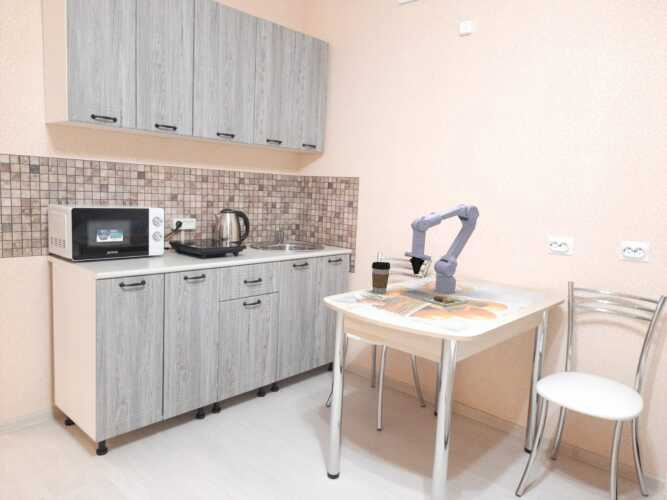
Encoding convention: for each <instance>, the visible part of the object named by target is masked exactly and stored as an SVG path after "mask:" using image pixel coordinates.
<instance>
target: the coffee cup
mask: <svg viewBox="0 0 667 500" xmlns="http://www.w3.org/2000/svg"><path fill="white" fill-rule="evenodd" d="M371 269H372V270H371V271H372V272H371V277H372V281H371V284H372V285H371V287H372V293H374V294H378V295H380V294H381V295H382V294H383V295H384V294H387V293H386V292H387V289H388V288H387V287H388V282H389V277H390V273H389V272H390V270H391V263H390V262H388V261H373V262H372V264H371Z"/></svg>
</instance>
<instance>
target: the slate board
mask: <svg viewBox="0 0 667 500" xmlns="http://www.w3.org/2000/svg"><path fill="white" fill-rule="evenodd" d="M397 294H398V295H401V296H405V297H408V298H411V299H415V300H417V301H418V300H419V301H421V302H424V301H423V298H425V299H428V300H432V301H433V300H434V297H435V296H437V295H436V294H434V293H429V292H425V291H421V290H414V291H406V292H400V293H397Z"/></svg>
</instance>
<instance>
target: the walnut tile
mask: <svg viewBox="0 0 667 500" xmlns="http://www.w3.org/2000/svg"><path fill="white" fill-rule="evenodd" d="M444 298H446V297H443V295H442V296H441V295H436V296H435V297H434V299H433V301H436V302H439V303H442V300H443V299H444Z"/></svg>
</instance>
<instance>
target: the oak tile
mask: <svg viewBox="0 0 667 500" xmlns="http://www.w3.org/2000/svg"><path fill="white" fill-rule="evenodd" d="M455 302H457V301H456V300H455V299H451V298H444V299H443V300H442V303H443V304H449V303H455Z"/></svg>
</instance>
